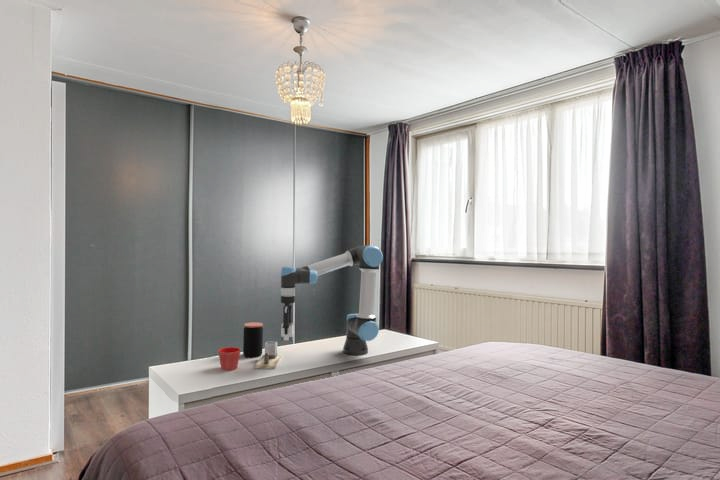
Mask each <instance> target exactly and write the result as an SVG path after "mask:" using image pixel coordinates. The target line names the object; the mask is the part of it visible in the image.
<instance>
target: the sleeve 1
mask: <svg viewBox="0 0 720 480" xmlns="http://www.w3.org/2000/svg"><path fill="white" fill-rule="evenodd" d="M265 353H268V355H269V359H275V358H276V357H277V355H278V341H270V340H269V341H266V342H264V354H265Z"/></svg>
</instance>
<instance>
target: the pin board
mask: <svg viewBox="0 0 720 480" xmlns="http://www.w3.org/2000/svg"><path fill="white" fill-rule="evenodd" d="M281 359H282V355H278V354H277V357H276V358H275V359H269V355H268V353H265V352H264V354H263V355H261V356H260V358H259V360H258V361H257V362H256V364H255V366H254V369H257V368H270V370H275V369H274V368H277V366H278V364H279V363H280V360H281ZM271 368H273V369H271Z"/></svg>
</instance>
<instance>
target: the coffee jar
mask: <svg viewBox="0 0 720 480" xmlns="http://www.w3.org/2000/svg"><path fill="white" fill-rule="evenodd" d="M263 325H264V324H263V323H262V322H254V321H253V322H246V323H244V324H243V326H244V328H243V338H242V339H243V342H242V343H243V346H242V354H243V356H244V357H245V358H248V357H249V359H250V358H251V359H254V357H255V358H259V357H262V354H263V339H264V337H263V335H264V328H263V327H264V326H263Z"/></svg>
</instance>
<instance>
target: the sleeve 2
mask: <svg viewBox="0 0 720 480" xmlns="http://www.w3.org/2000/svg"><path fill="white" fill-rule="evenodd" d="M294 326H295V324H294V323H293V322H292V323H289V340H284V328H282V327H283V323H281V325H280V330H281V331H280V341H288V342H289V341H293V339H294V334H295V333H294V331H295V329H294Z"/></svg>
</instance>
